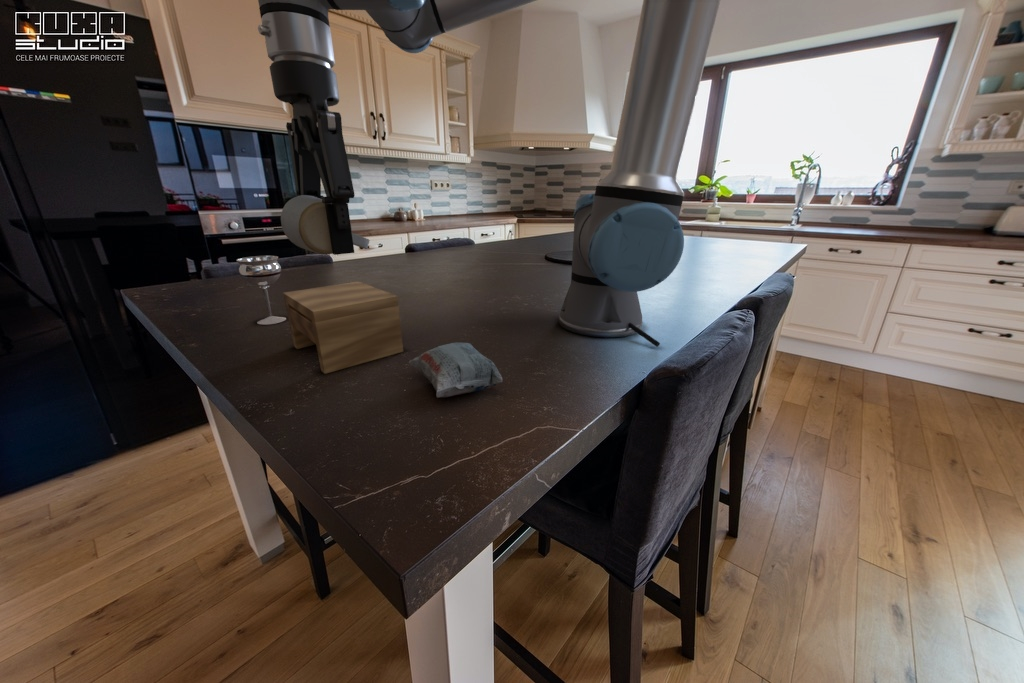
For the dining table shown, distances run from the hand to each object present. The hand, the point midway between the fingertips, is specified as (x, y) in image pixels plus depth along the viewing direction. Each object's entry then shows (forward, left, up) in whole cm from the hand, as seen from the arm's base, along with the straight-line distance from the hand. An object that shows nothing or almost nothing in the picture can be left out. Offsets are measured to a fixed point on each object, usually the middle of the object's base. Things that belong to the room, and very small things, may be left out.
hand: (331, 250), depth 58 cm
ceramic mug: (0, 0, 0) cm, 1 cm away
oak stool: (0, 0, -16) cm, 16 cm away
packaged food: (-22, -5, -16) cm, 28 cm away
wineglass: (+25, +5, -16) cm, 30 cm away
